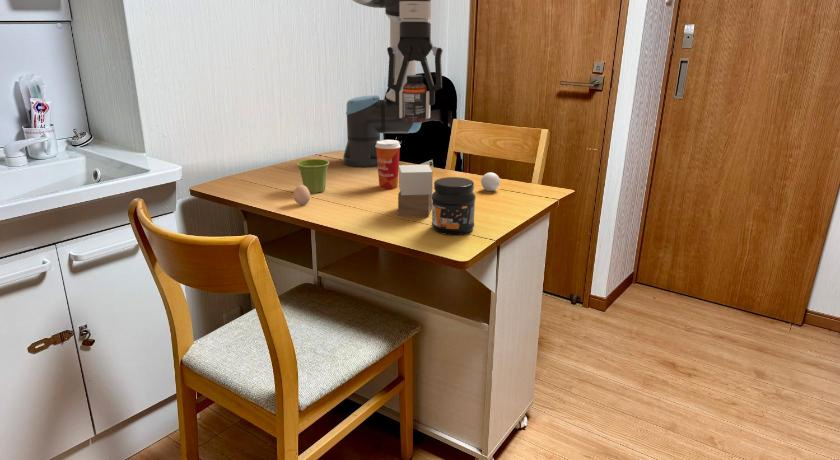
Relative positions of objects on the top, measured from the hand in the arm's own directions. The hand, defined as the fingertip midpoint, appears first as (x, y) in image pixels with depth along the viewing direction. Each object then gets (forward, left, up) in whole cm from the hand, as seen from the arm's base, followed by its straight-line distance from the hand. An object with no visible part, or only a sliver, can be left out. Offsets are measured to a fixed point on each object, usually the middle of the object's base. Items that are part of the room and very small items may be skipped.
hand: (414, 117), depth 146 cm
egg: (-1, -32, -25) cm, 40 cm away
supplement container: (+12, +11, -25) cm, 30 cm away
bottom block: (0, 0, -25) cm, 25 cm away
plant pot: (-15, -33, -25) cm, 44 cm away
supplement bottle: (0, 0, -1) cm, 1 cm away
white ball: (-23, +19, -25) cm, 39 cm away
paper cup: (-23, -12, -25) cm, 36 cm away
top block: (0, 0, -19) cm, 19 cm away
